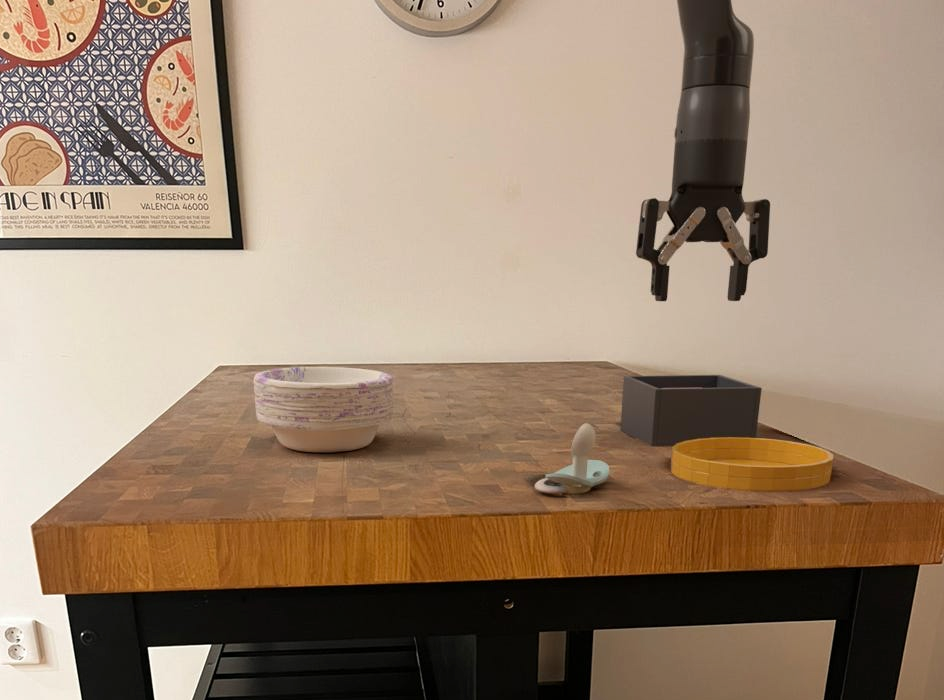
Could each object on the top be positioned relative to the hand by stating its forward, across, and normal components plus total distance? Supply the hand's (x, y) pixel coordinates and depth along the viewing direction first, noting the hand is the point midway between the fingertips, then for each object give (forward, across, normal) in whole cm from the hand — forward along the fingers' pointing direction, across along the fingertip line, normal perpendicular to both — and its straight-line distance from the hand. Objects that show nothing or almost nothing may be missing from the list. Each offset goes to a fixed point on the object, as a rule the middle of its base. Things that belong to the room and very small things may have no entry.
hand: (697, 300), depth 108 cm
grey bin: (+15, 0, 0) cm, 15 cm away
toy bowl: (+15, -1, -21) cm, 26 cm away
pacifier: (+16, -20, -25) cm, 36 cm away
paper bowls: (+15, -42, 0) cm, 45 cm away
